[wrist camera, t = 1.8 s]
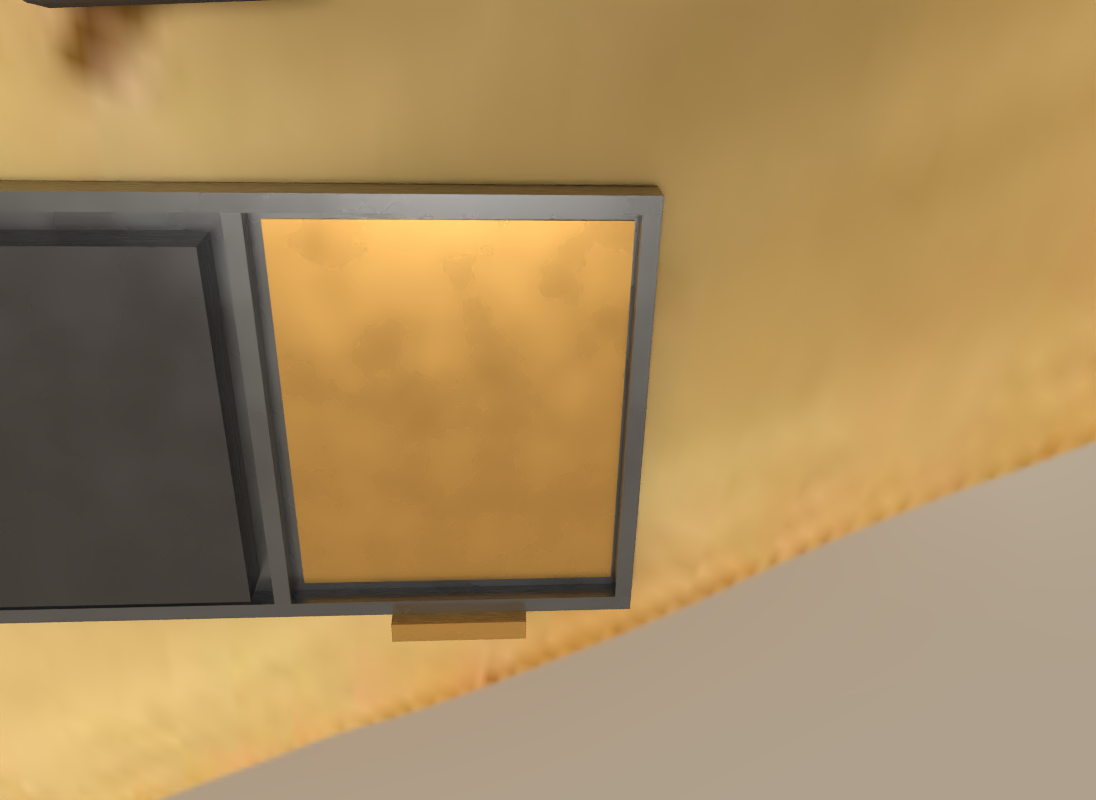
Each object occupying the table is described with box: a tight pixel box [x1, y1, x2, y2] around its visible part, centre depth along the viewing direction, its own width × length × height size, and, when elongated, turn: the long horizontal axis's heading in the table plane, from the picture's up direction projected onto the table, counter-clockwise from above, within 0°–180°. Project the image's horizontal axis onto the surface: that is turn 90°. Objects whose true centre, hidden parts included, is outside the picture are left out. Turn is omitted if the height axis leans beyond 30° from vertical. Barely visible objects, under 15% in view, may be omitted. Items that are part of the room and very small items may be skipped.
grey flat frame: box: [0, 181, 664, 642], centre depth 32 cm, size 17×26×2 cm, turn 89°
